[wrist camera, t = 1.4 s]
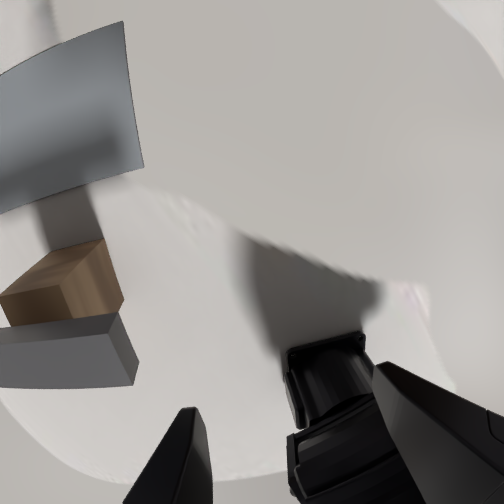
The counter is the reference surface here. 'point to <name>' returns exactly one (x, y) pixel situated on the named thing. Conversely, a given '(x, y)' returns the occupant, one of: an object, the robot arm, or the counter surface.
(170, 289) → the counter surface
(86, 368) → the grey rectangular bar
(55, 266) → the wooden block
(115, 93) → the pad
